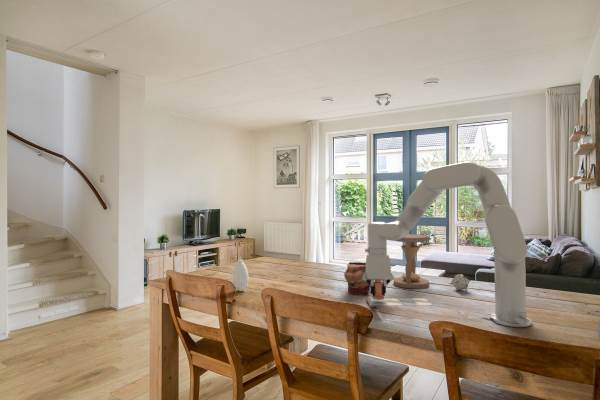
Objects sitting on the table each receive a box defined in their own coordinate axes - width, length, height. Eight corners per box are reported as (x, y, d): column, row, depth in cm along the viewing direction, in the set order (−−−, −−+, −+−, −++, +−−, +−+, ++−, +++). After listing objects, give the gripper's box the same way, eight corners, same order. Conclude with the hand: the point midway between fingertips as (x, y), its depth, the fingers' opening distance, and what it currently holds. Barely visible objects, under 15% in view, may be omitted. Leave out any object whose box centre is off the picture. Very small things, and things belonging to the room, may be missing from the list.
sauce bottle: (244, 293, 171) (243, 256, 171) (229, 292, 174) (229, 255, 174) (251, 289, 178) (250, 253, 178) (237, 288, 181) (236, 253, 181)
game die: (464, 299, 169) (474, 285, 163) (446, 292, 171) (455, 278, 165) (464, 285, 176) (473, 272, 170) (447, 279, 178) (455, 265, 172)
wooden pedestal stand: (402, 279, 195) (401, 233, 195) (434, 283, 184) (433, 235, 184) (387, 285, 182) (386, 236, 182) (421, 290, 171) (420, 238, 171)
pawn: (385, 299, 147) (384, 276, 147) (373, 299, 148) (373, 276, 148) (382, 296, 152) (382, 273, 152) (371, 296, 152) (371, 273, 152)
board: (436, 308, 143) (436, 305, 143) (371, 309, 144) (371, 306, 144) (426, 300, 155) (426, 297, 155) (366, 300, 156) (366, 297, 156)
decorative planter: (356, 285, 183) (355, 258, 183) (379, 288, 176) (378, 260, 176) (339, 295, 166) (338, 265, 166) (363, 298, 159) (363, 267, 159)
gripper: (358, 253, 146) (359, 297, 146) (399, 252, 146) (400, 297, 146) (356, 250, 154) (357, 292, 154) (395, 249, 153) (396, 292, 153)
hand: (378, 294), depth 150 cm, fingers closed on pawn, 3 cm apart
